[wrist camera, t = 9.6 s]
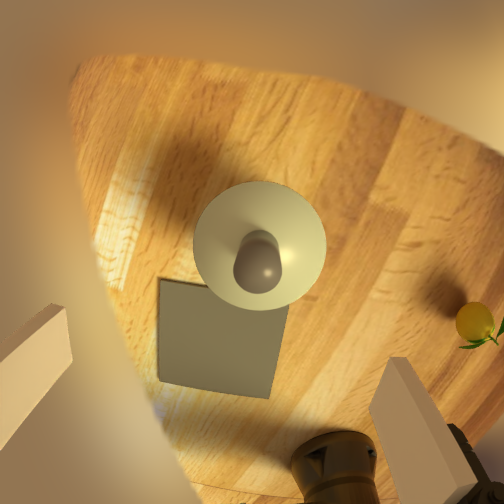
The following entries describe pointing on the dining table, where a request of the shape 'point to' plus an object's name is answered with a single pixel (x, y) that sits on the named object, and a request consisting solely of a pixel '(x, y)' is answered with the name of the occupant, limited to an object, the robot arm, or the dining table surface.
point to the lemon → (476, 324)
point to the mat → (217, 342)
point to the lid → (259, 245)
